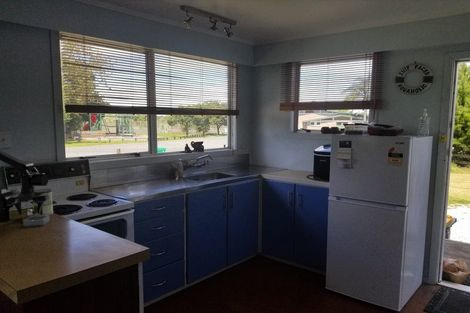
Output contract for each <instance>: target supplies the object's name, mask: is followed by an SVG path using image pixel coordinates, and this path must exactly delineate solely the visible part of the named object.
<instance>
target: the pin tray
mask: <svg viewBox="0 0 470 313" xmlns="http://www.w3.org/2000/svg"><path fill="white" fill-rule="evenodd" d="M50 218H51V216H50V215H43V216H30V217H29V218H27V219H26V220H24V221H23V222H22V223H23V228H25V227H26V228H27V227H40V226H42V227H43V226H45V225H46V224H48V223H49V222H50V221H51V220H50Z"/></svg>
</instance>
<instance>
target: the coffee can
mask: <svg viewBox="0 0 470 313" xmlns="http://www.w3.org/2000/svg"><path fill="white" fill-rule="evenodd" d="M52 191H53V189H51V188H39V189H34V194H35V196H39V195H42V194H48V196H49V199H48V200H46V201H45V202H44V203H43V205H42V207H41V210H40V216H43V215H49V216H50V215H52V214H54V205H53V192H52ZM37 202H38V200H32V208H33V209H32V211H36V212H38V204H37Z"/></svg>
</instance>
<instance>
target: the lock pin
mask: <svg viewBox="0 0 470 313" xmlns="http://www.w3.org/2000/svg"><path fill="white" fill-rule="evenodd" d="M32 211H33V209H31V208H28V209H27V210H26V214H27V216H32V215H33V214H32Z"/></svg>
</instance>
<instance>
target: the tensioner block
mask: <svg viewBox="0 0 470 313" xmlns="http://www.w3.org/2000/svg"><path fill="white" fill-rule="evenodd" d="M32 214H33V215H32V216H40V213H39V214H38V212H36V211H33V210H32ZM29 217H30V216H27V213H26V214H23V215H22V217H21V220H22V223H23V221H24V220H26V219H27V218H29Z"/></svg>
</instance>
